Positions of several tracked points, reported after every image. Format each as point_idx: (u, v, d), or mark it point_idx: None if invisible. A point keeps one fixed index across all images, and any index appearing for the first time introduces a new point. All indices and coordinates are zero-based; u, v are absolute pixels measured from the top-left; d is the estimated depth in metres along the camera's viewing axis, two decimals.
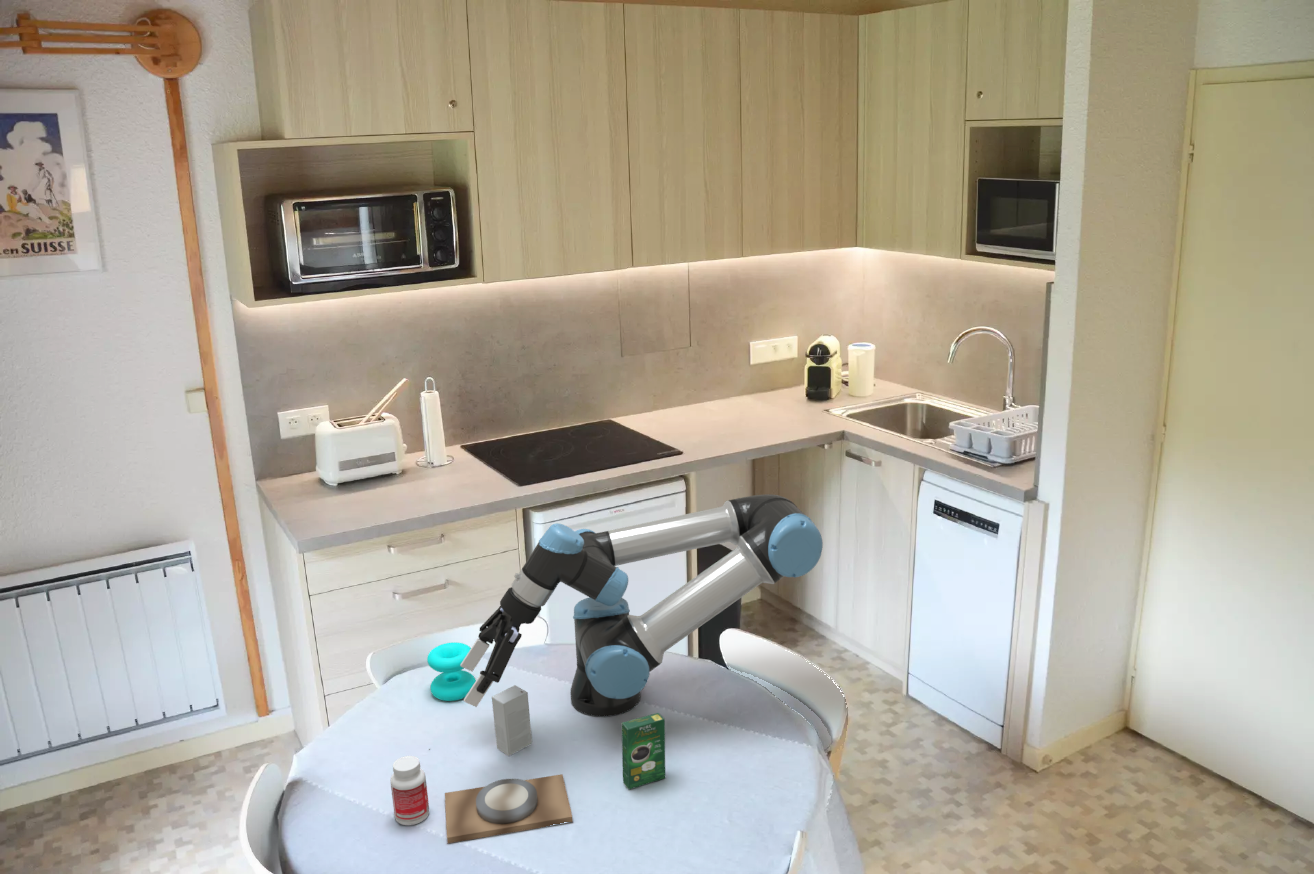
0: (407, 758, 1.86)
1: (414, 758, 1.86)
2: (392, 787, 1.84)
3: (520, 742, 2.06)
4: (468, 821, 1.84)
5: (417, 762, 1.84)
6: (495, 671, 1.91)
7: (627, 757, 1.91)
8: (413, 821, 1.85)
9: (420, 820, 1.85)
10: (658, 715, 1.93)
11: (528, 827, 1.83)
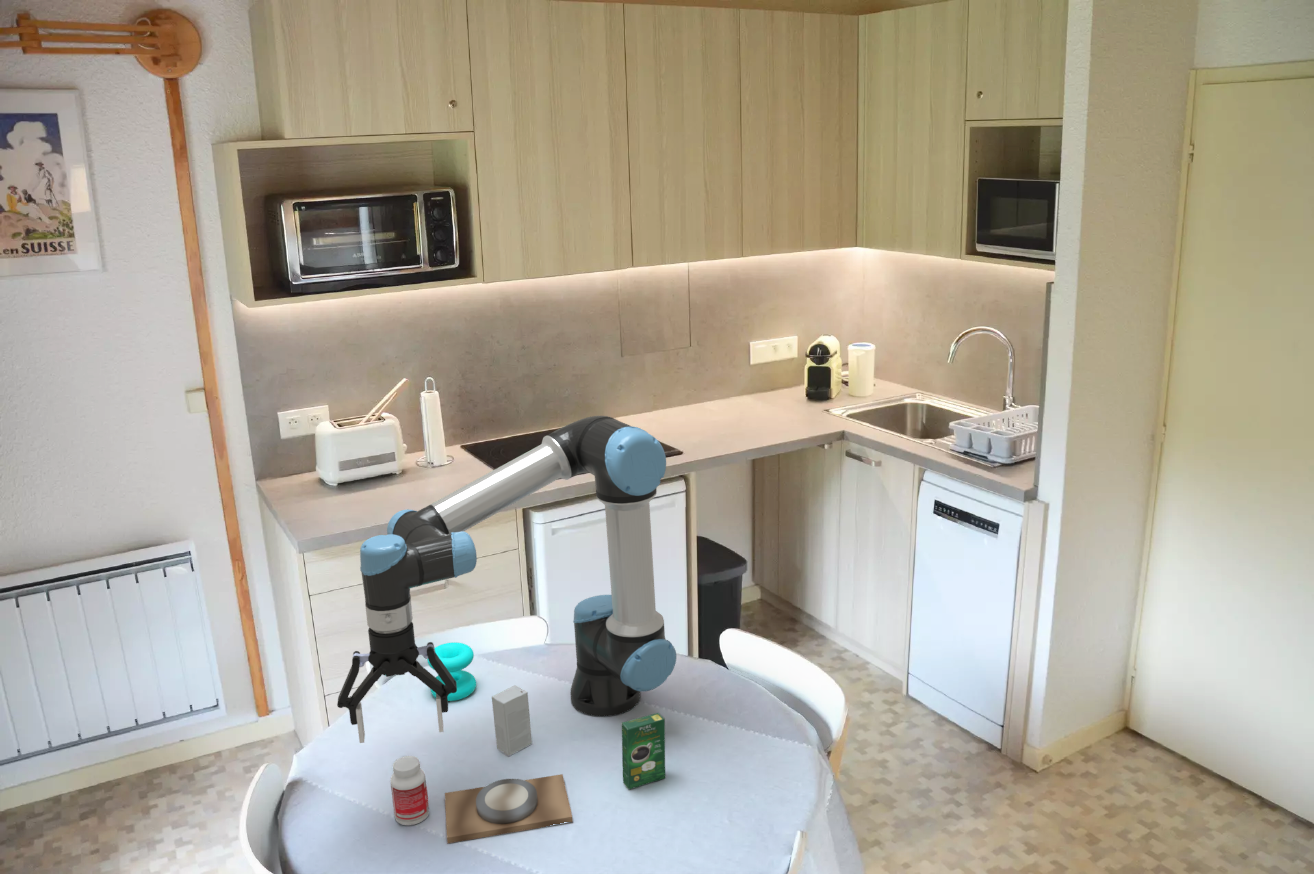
0: (407, 758, 1.86)
1: (414, 758, 1.86)
2: (392, 787, 1.84)
3: (520, 742, 2.06)
4: (468, 821, 1.84)
5: (417, 762, 1.84)
6: (452, 681, 1.82)
7: (626, 757, 1.91)
8: (413, 821, 1.85)
9: (420, 820, 1.85)
10: (658, 715, 1.93)
11: (528, 827, 1.83)
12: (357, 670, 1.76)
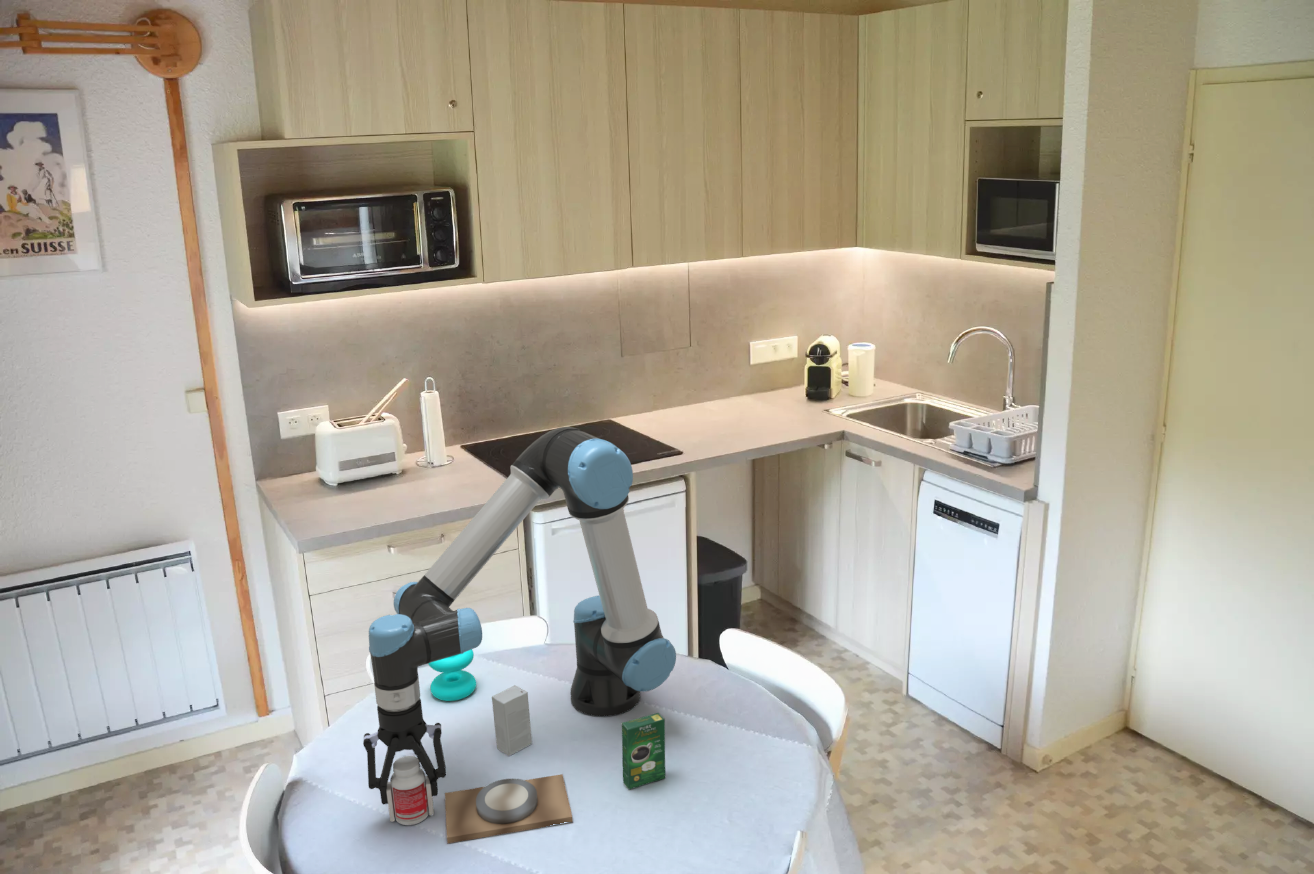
0: (407, 758, 1.86)
1: (414, 758, 1.86)
2: (392, 787, 1.84)
3: (520, 742, 2.06)
4: (468, 821, 1.84)
5: (417, 762, 1.84)
6: (445, 765, 1.86)
7: (627, 757, 1.91)
8: (413, 821, 1.85)
9: (420, 820, 1.85)
10: (658, 715, 1.93)
11: (528, 827, 1.83)
12: (372, 751, 1.81)
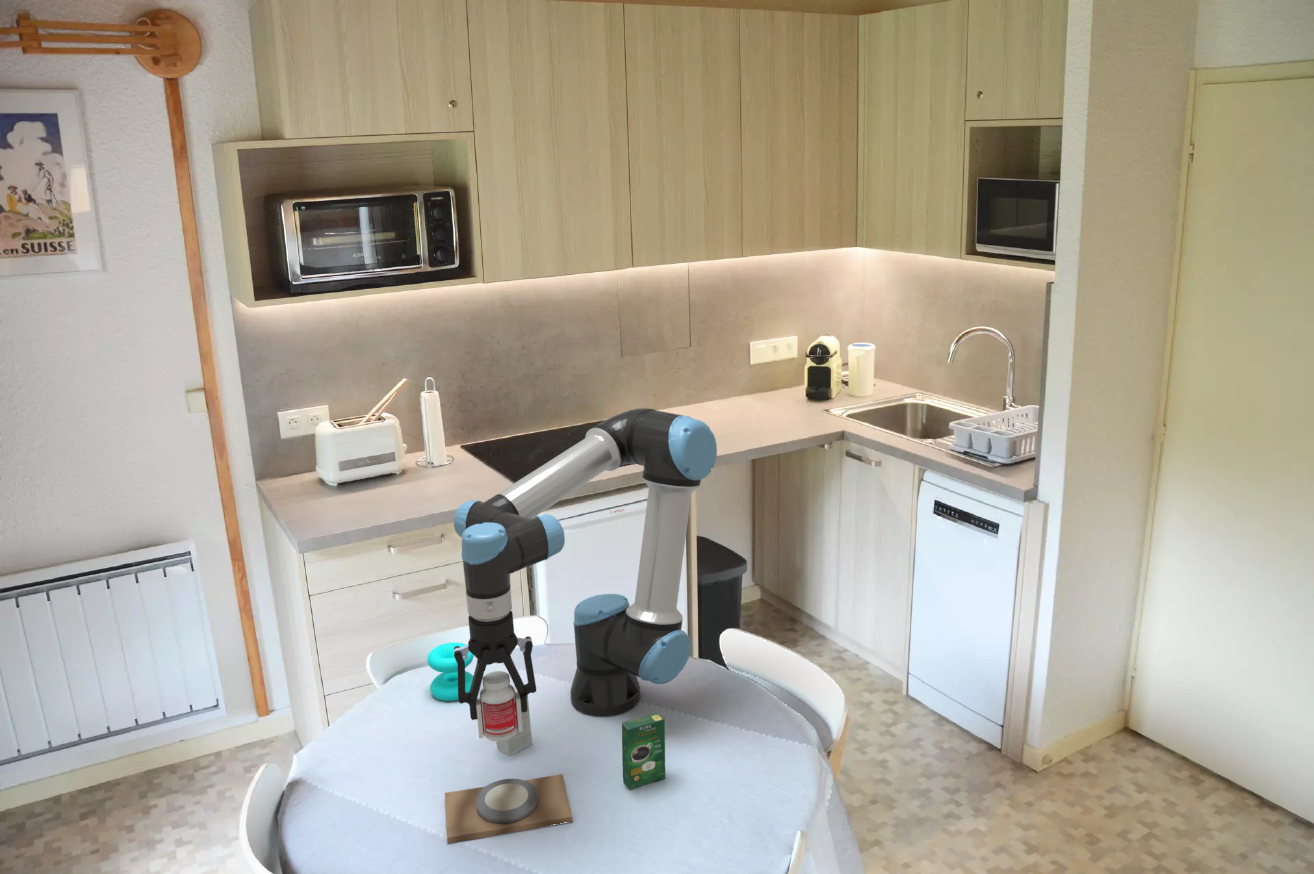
0: (496, 673, 1.82)
1: (503, 673, 1.82)
2: (482, 702, 1.80)
3: (520, 742, 2.06)
4: (468, 821, 1.84)
5: (507, 676, 1.80)
6: None
7: (627, 757, 1.91)
8: (503, 737, 1.80)
9: (510, 736, 1.81)
10: (658, 715, 1.93)
11: (528, 827, 1.83)
12: (463, 663, 1.77)
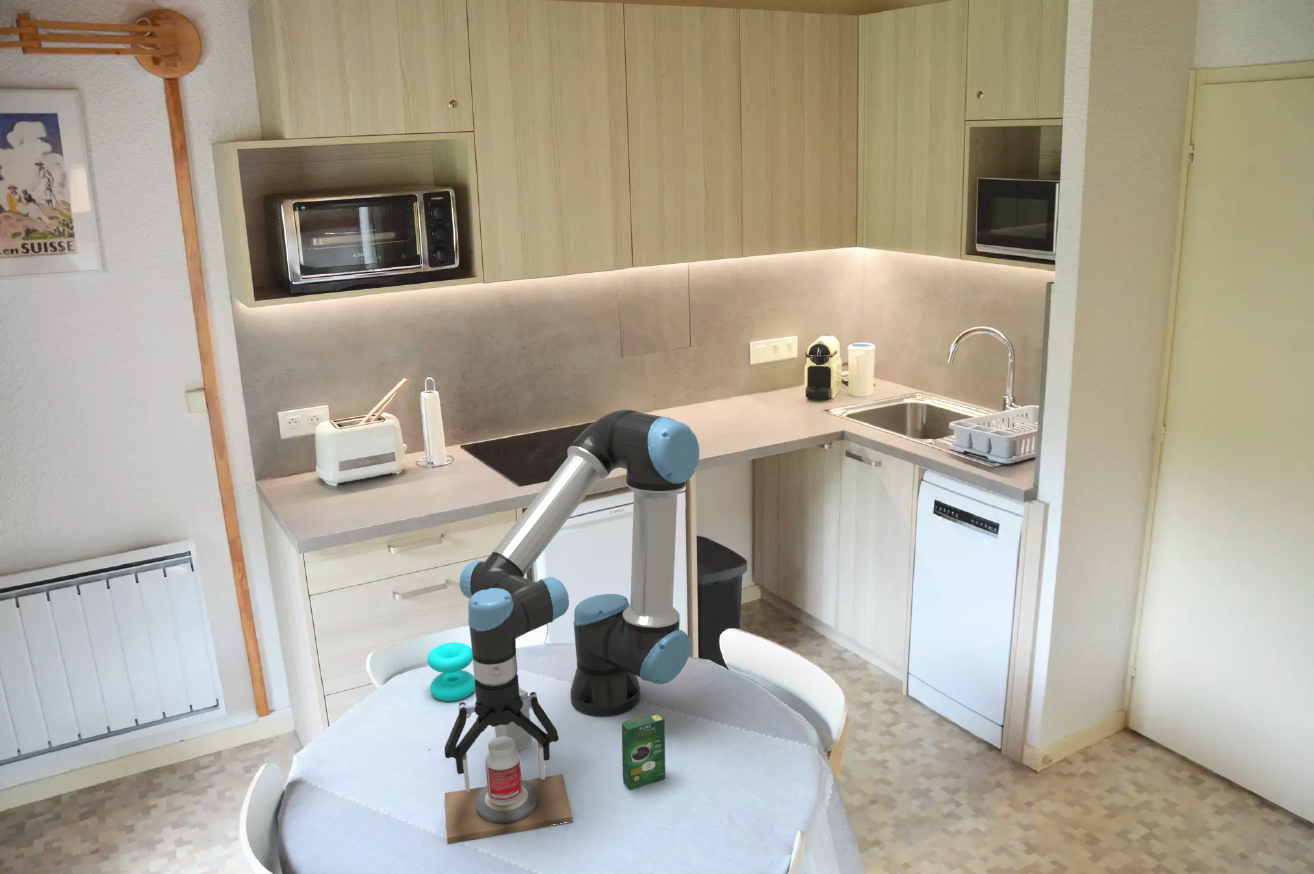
0: (501, 738, 1.86)
1: (508, 738, 1.86)
2: (487, 767, 1.84)
3: (520, 742, 2.06)
4: (468, 821, 1.84)
5: (512, 742, 1.84)
6: (554, 729, 1.86)
7: (627, 757, 1.91)
8: (508, 801, 1.84)
9: (515, 801, 1.85)
10: (658, 715, 1.93)
11: (528, 827, 1.83)
12: (464, 721, 1.80)
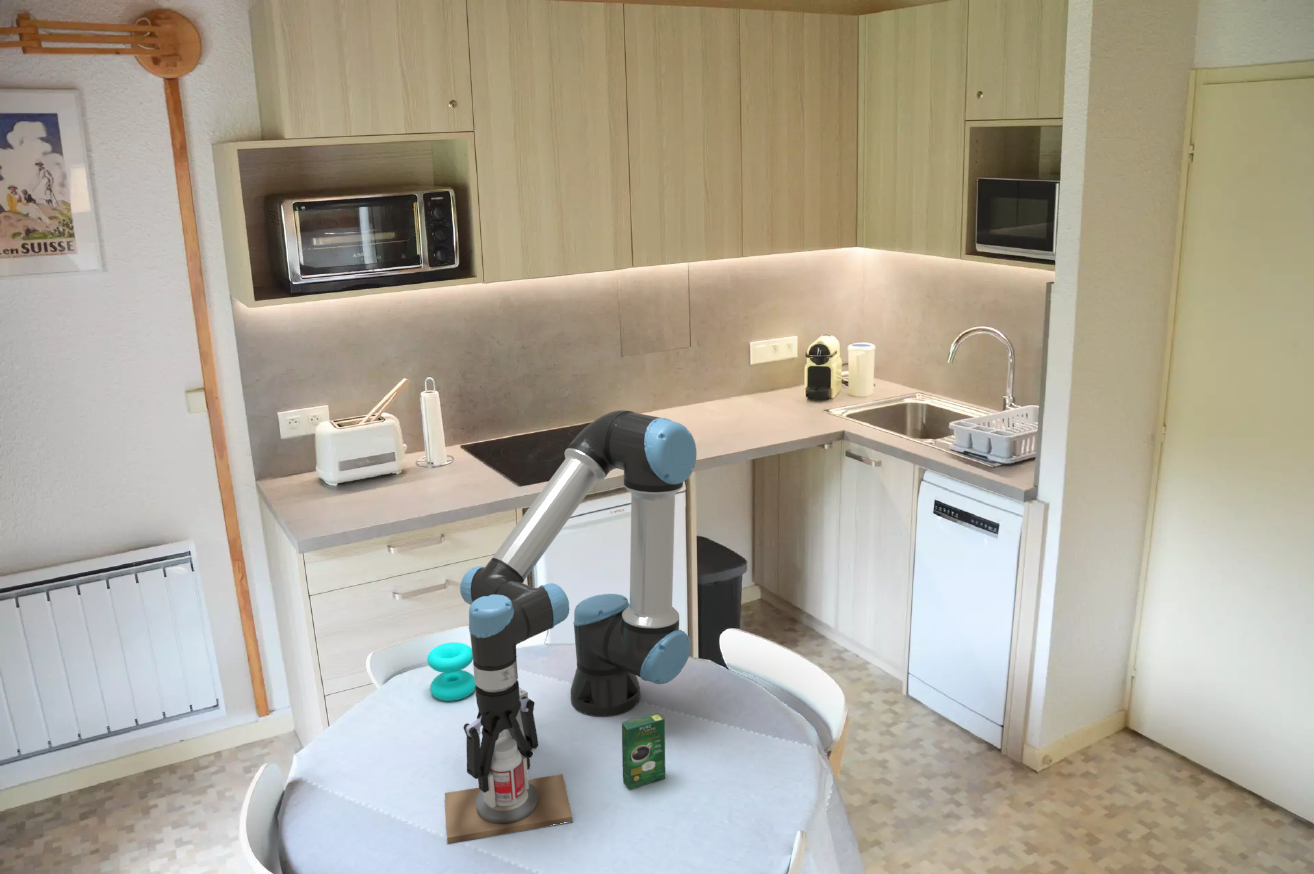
0: (495, 744, 1.84)
1: None
2: (512, 770, 1.83)
3: None
4: (468, 821, 1.84)
5: (505, 737, 1.86)
6: None
7: (627, 757, 1.91)
8: (524, 789, 1.88)
9: None
10: (658, 715, 1.93)
11: (528, 827, 1.83)
12: (478, 738, 1.79)
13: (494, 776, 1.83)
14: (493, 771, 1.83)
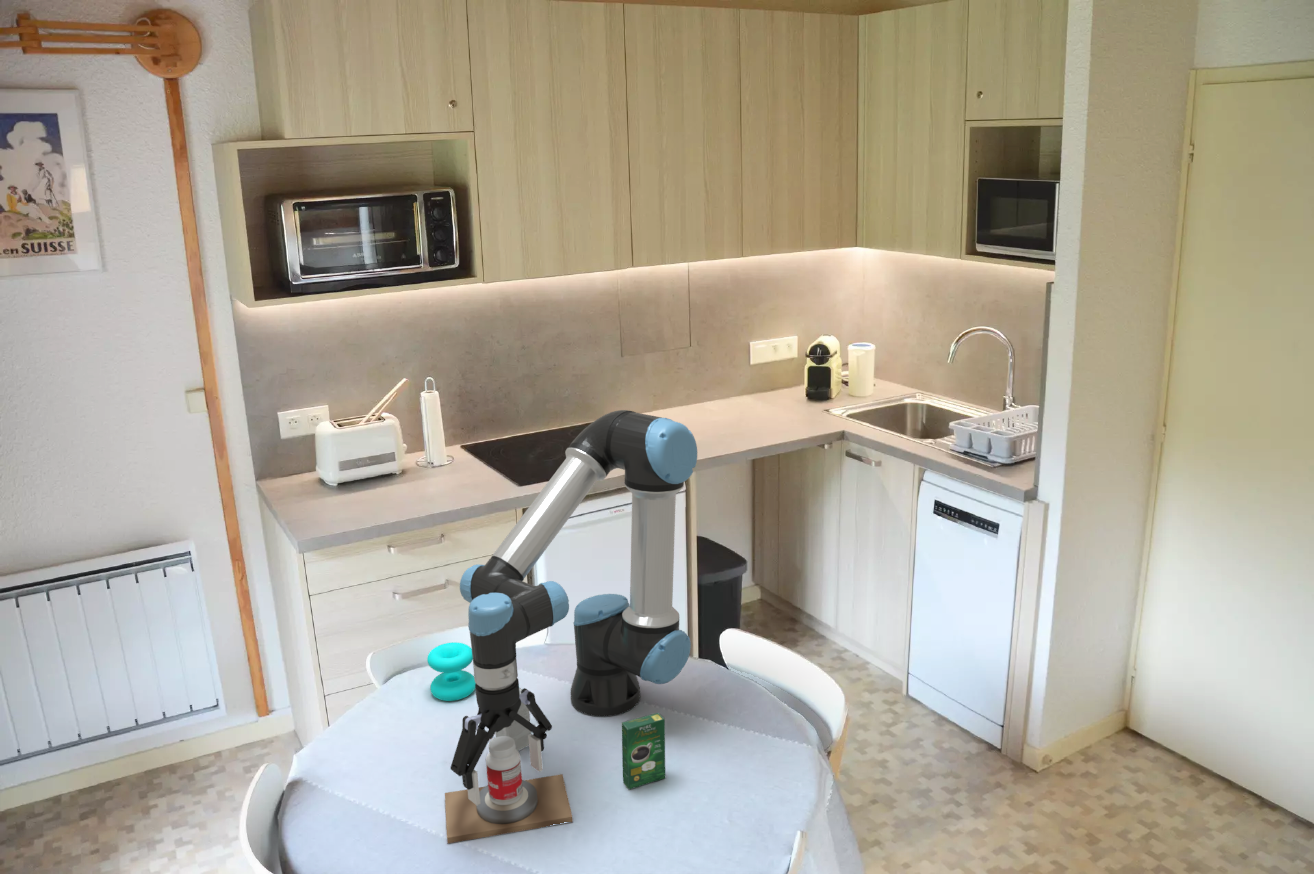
0: (500, 748, 1.83)
1: (493, 747, 1.83)
2: None
3: (520, 742, 2.06)
4: (468, 821, 1.84)
5: (490, 742, 1.85)
6: None
7: (627, 757, 1.91)
8: None
9: None
10: (658, 715, 1.93)
11: (528, 827, 1.83)
12: (474, 733, 1.78)
13: (516, 771, 1.84)
14: (515, 767, 1.84)
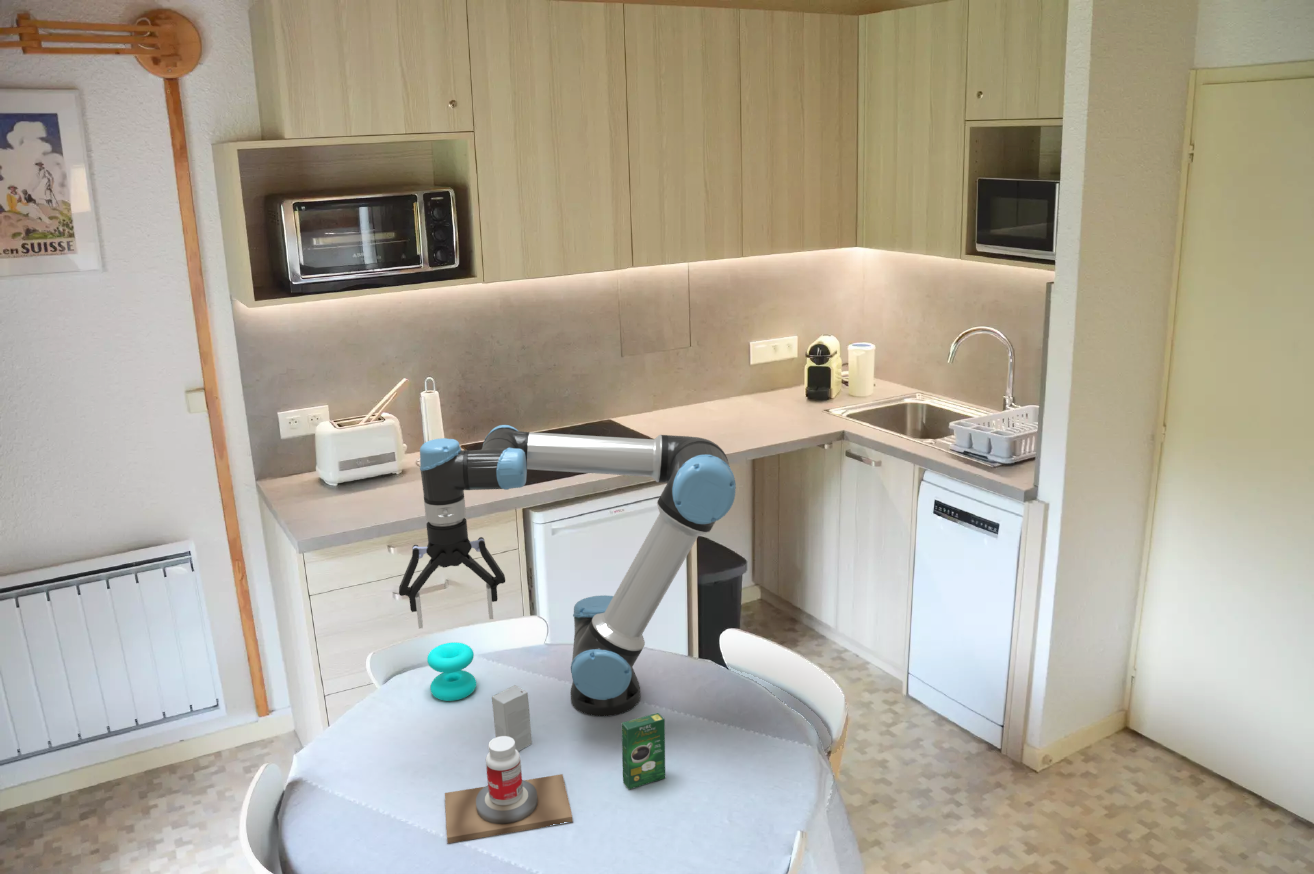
0: (500, 748, 1.83)
1: (493, 747, 1.83)
2: None
3: (520, 742, 2.06)
4: (468, 821, 1.84)
5: (490, 742, 1.85)
6: (501, 572, 2.02)
7: (626, 757, 1.91)
8: None
9: None
10: (658, 715, 1.93)
11: (528, 827, 1.83)
12: (417, 561, 1.96)
13: (516, 771, 1.84)
14: (515, 767, 1.84)
